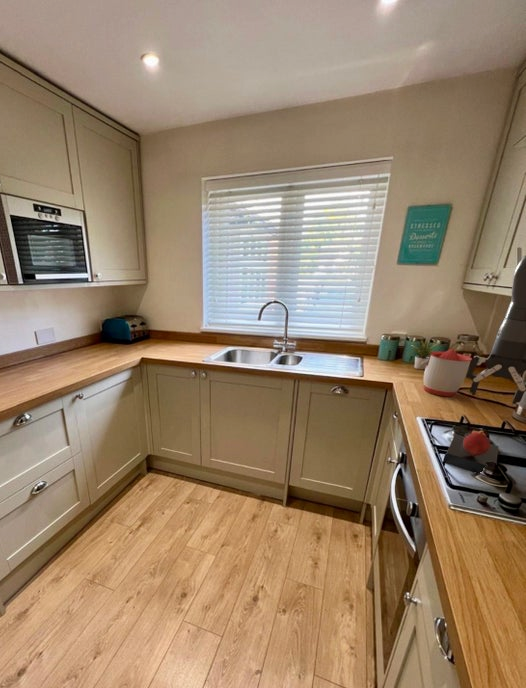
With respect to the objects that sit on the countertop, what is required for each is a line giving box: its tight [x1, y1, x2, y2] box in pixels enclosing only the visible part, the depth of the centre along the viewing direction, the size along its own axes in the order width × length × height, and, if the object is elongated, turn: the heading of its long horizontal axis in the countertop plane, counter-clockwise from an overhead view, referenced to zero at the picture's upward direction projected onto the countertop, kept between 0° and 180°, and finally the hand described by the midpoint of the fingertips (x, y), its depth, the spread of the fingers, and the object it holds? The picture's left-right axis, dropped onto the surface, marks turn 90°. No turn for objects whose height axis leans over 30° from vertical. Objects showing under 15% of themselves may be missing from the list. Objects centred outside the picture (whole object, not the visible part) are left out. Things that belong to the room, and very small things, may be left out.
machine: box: [443, 432, 500, 474], centre depth 96 cm, size 16×11×5 cm, turn 139°
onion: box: [463, 430, 491, 456], centre depth 91 cm, size 6×6×8 cm
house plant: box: [410, 339, 440, 370], centre depth 182 cm, size 14×14×16 cm
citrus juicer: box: [422, 348, 473, 397], centre depth 146 cm, size 16×17×20 cm
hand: (492, 398), depth 88 cm, fingers open, 8 cm apart
